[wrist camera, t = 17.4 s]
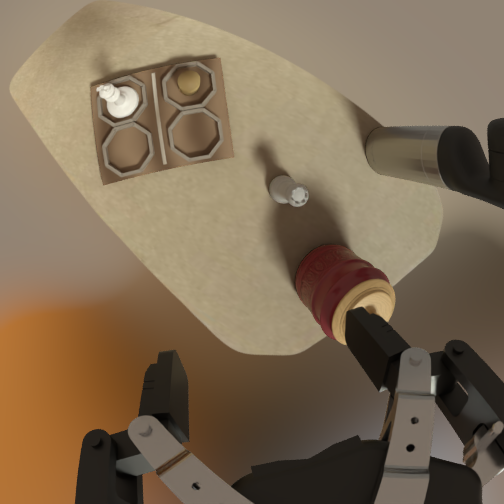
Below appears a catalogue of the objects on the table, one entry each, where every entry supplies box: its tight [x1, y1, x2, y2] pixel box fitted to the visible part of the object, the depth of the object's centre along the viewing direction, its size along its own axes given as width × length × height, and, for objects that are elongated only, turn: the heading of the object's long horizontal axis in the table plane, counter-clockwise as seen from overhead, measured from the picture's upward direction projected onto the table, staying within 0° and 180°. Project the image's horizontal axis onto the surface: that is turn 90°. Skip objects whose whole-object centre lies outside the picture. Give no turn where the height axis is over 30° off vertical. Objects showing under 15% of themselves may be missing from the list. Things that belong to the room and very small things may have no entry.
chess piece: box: [96, 83, 139, 118], centre depth 27 cm, size 5×5×10 cm
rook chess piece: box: [269, 175, 309, 207], centre depth 39 cm, size 4×4×8 cm
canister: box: [295, 244, 395, 345], centre depth 41 cm, size 13×13×18 cm
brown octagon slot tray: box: [91, 58, 234, 185], centre depth 32 cm, size 20×16×5 cm
